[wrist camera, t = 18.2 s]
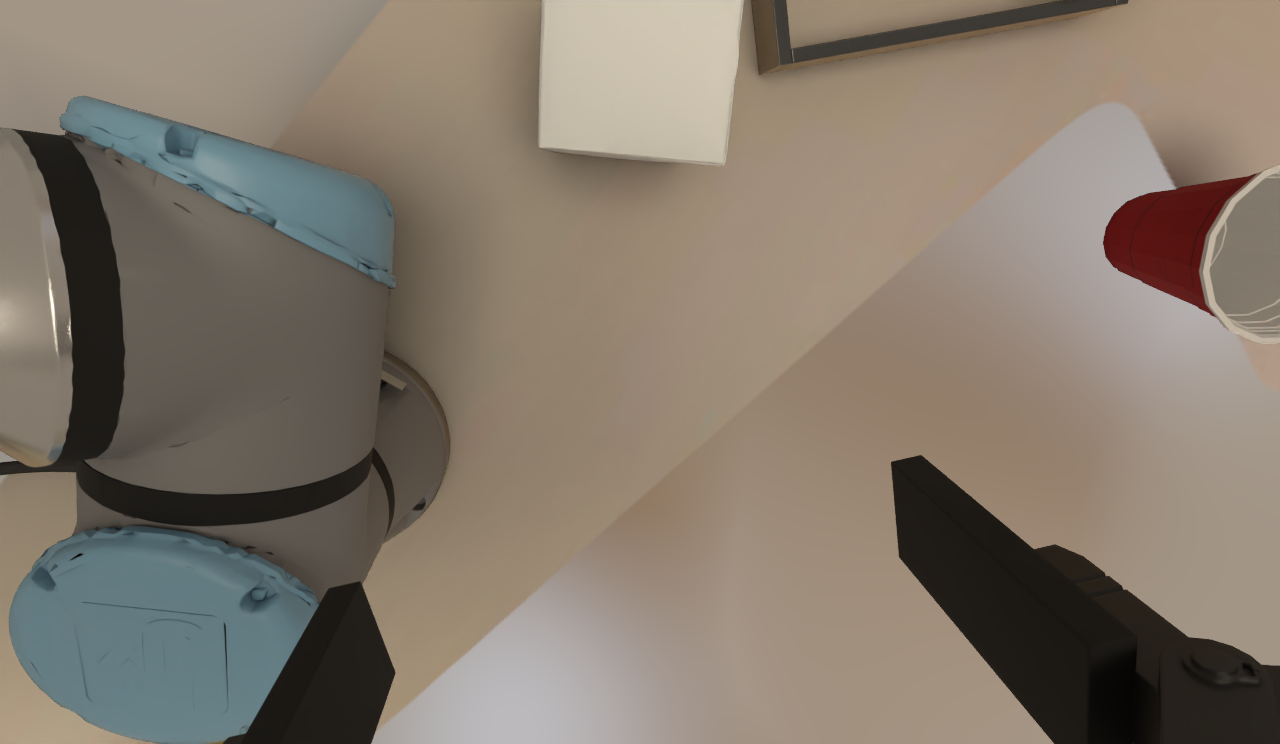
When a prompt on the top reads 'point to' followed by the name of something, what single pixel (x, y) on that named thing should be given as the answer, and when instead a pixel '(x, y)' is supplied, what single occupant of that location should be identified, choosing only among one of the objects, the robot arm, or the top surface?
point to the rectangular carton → (638, 78)
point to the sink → (898, 32)
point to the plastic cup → (1208, 249)
